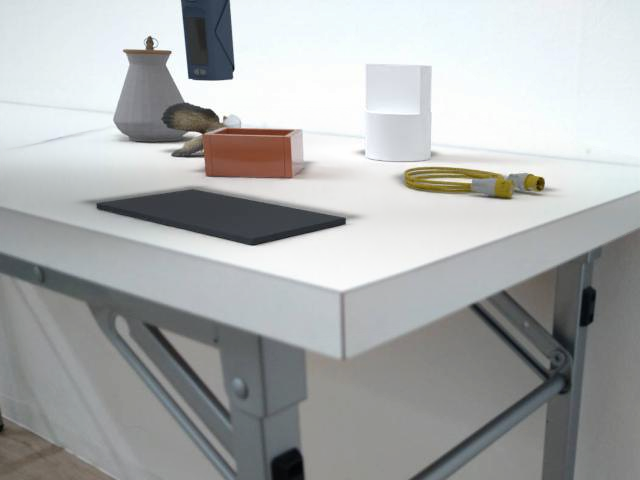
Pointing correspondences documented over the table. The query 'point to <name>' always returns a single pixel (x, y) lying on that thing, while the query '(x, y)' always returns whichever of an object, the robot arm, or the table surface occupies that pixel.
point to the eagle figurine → (195, 124)
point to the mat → (223, 215)
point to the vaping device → (208, 39)
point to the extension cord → (474, 181)
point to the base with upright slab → (398, 112)
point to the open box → (253, 152)
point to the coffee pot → (147, 96)
